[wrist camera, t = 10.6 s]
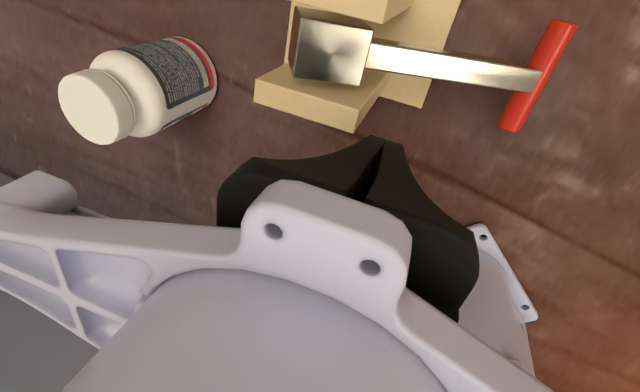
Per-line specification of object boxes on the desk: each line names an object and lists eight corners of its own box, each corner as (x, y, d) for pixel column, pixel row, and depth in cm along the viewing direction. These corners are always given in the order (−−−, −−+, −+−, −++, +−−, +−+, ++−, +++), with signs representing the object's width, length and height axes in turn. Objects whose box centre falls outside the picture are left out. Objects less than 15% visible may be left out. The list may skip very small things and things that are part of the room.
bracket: (470, -28, 18) (478, -30, 10) (423, 102, 22) (401, 174, 14) (307, -65, 19) (203, -92, 12) (290, 64, 23) (204, 109, 16)
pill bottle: (166, 20, 25) (46, 38, 18) (228, 62, 25) (134, 97, 18) (152, 84, 28) (46, 121, 21) (207, 121, 28) (121, 171, 21)
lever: (556, 18, 16) (596, 30, 14) (503, 119, 19) (531, 140, 17) (299, -36, 14) (306, -30, 12) (283, 91, 16) (287, 112, 14)
